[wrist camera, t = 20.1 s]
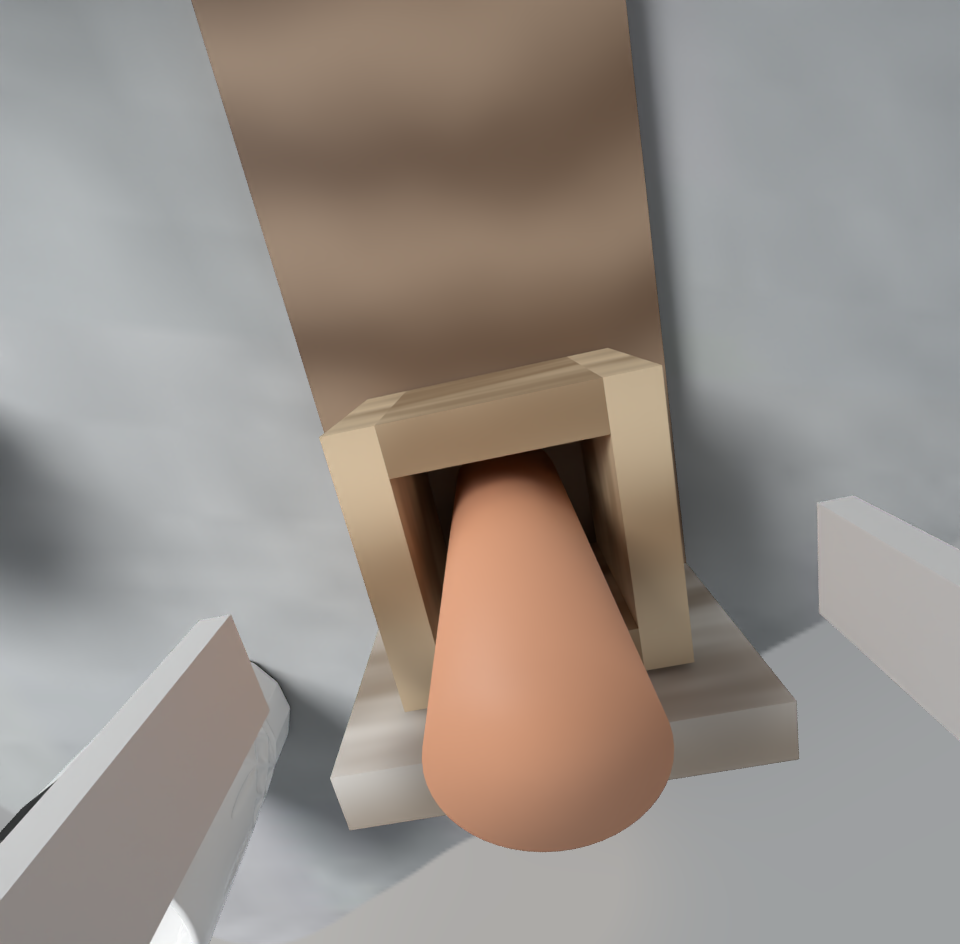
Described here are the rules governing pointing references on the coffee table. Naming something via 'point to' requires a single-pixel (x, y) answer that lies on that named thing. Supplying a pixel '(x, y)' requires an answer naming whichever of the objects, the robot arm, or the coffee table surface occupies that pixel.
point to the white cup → (225, 831)
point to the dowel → (536, 674)
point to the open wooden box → (499, 432)
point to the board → (466, 276)
